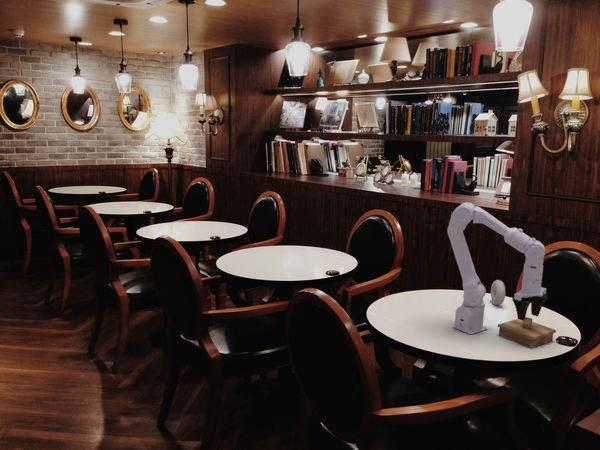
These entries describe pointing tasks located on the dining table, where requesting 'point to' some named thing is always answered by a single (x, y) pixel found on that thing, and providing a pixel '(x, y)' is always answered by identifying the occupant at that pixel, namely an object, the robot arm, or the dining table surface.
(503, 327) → the lid
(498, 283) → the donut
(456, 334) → the dining table surface
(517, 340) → the box
